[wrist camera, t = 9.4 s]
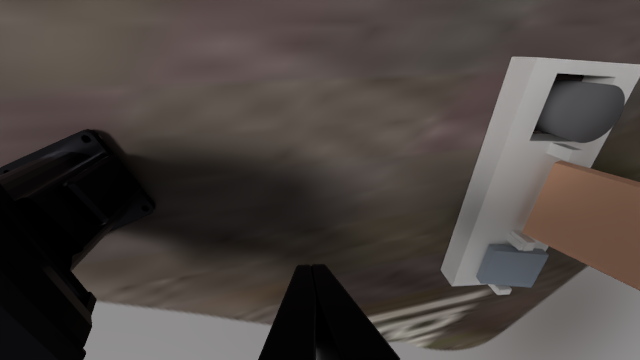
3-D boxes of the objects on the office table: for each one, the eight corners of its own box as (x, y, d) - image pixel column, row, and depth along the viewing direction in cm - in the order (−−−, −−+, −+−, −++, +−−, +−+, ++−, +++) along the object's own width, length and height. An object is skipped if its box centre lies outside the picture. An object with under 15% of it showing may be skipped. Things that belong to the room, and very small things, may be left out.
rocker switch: (475, 276, 24) (480, 283, 23) (489, 244, 22) (494, 251, 22) (525, 280, 24) (531, 287, 23) (542, 248, 22) (549, 255, 22)
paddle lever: (521, 232, 21) (750, 344, 14) (554, 162, 19) (860, 251, 11) (528, 228, 22) (750, 333, 14) (561, 160, 19) (855, 242, 12)
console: (440, 270, 26) (462, 301, 23) (511, 56, 18) (561, 58, 15) (513, 266, 27) (544, 295, 24) (611, 63, 19) (678, 66, 16)
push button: (520, 130, 20) (558, 142, 17) (541, 78, 18) (585, 83, 16) (562, 131, 20) (605, 143, 18) (585, 80, 19) (636, 85, 16)
